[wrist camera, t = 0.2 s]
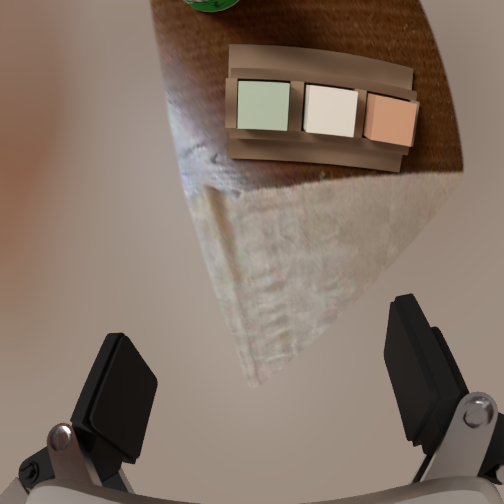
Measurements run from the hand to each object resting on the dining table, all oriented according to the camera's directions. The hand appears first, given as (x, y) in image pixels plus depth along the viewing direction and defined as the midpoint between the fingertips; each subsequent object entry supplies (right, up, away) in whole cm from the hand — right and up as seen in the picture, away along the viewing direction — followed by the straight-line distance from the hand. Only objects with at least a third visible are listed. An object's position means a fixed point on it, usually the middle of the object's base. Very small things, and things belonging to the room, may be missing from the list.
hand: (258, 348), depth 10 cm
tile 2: (+8, +19, +20) cm, 29 cm away
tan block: (+15, +19, +20) cm, 31 cm away
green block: (+1, +19, +20) cm, 28 cm away
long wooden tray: (+8, +21, +22) cm, 32 cm away
